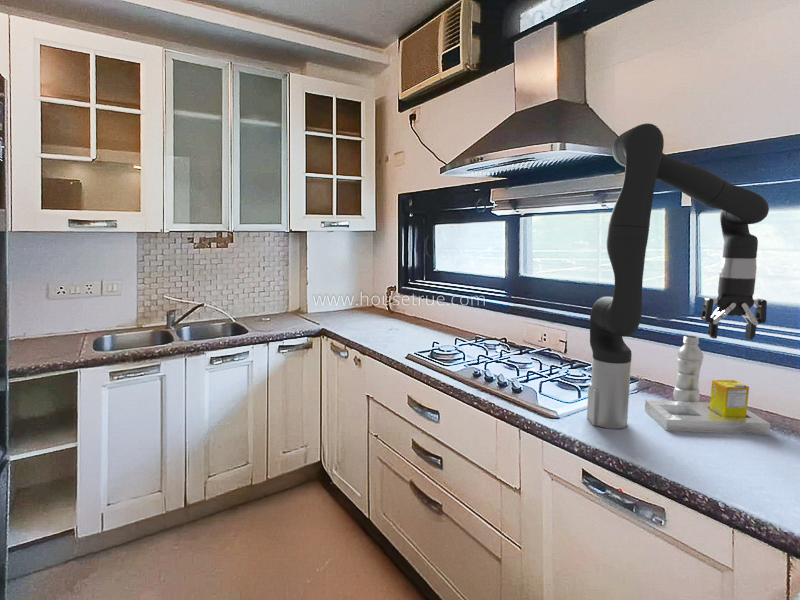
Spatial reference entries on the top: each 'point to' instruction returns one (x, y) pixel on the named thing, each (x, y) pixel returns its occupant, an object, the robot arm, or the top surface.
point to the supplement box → (729, 398)
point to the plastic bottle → (688, 371)
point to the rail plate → (702, 418)
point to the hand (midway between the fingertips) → (730, 338)
